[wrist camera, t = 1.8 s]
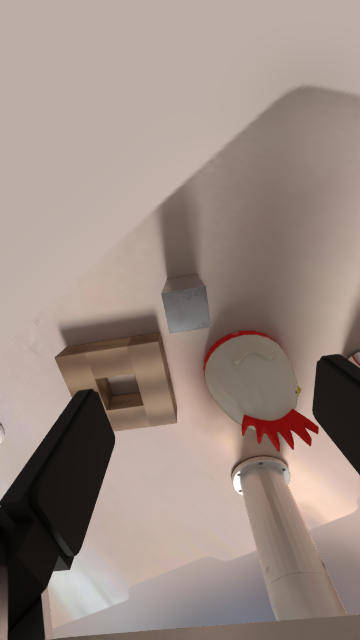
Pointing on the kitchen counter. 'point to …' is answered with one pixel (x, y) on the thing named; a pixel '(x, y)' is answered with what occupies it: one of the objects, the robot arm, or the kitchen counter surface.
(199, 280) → the square peg
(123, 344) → the socket block
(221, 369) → the kitchen timer
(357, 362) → the soda can
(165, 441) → the kitchen counter surface
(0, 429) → the eye dropper bottle
